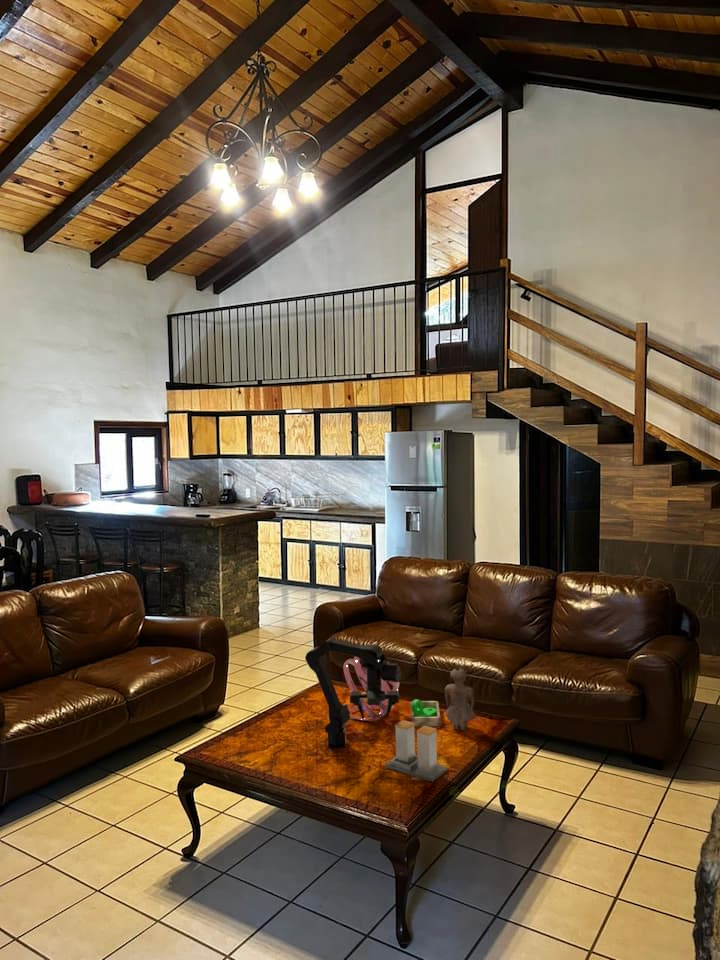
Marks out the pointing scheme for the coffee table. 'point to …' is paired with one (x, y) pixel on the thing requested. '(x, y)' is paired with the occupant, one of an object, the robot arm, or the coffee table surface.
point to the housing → (422, 757)
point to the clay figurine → (459, 700)
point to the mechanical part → (419, 711)
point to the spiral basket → (363, 679)
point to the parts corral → (427, 720)
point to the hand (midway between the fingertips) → (375, 718)
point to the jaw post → (405, 742)
